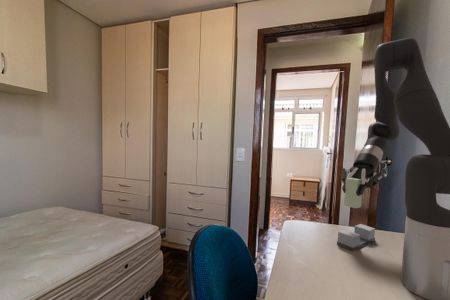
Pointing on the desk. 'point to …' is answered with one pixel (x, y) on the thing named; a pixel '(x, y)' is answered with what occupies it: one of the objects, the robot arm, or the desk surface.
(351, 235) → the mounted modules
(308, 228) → the desk surface
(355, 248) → the dark gray flat board
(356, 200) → the block
